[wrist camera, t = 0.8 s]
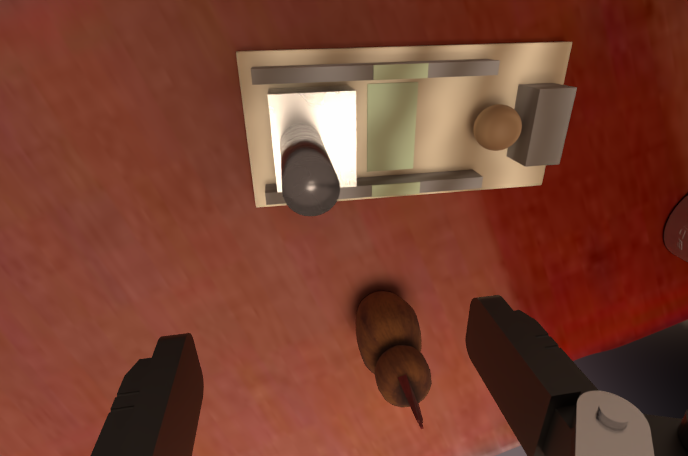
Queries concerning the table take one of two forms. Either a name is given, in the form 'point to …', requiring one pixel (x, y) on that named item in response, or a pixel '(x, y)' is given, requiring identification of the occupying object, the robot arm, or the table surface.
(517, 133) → the walnut
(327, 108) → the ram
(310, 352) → the table surface
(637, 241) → the table surface
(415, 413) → the wooden figurine
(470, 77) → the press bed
